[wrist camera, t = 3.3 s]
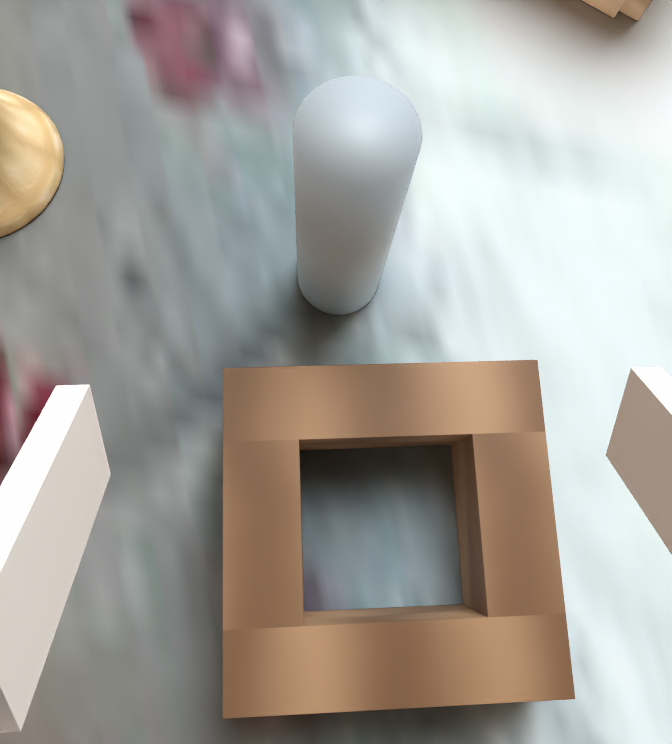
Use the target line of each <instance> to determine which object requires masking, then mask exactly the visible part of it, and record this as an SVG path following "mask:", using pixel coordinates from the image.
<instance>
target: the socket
mask: <svg viewBox="0 0 672 744" xmlns="http://www.w3.org/2000/svg"><path fill="white" fill-rule="evenodd" d="M442 445H451V456H452V469H453V482H454V495H455V507H456V520H457V533H458V546H459V559H460V571H461V584H462V597H463V604H456V605H435V606H413V607H392V608H371V609H350V610H328V611H307V612H304V597H303V558H302V519H301V480H300V450H322V449H352V448H382V447H412V446H442ZM566 699H575V694H574V685H573V676H572V667H571V658H570V649H569V640H568V631H567V622H566V613H565V604H564V595H563V586H562V577H561V568H560V559H559V550H558V541H557V532H556V523H555V514H554V505H553V496H552V488H551V479H550V470H549V461H548V452H547V443H546V434H545V425H544V416H543V407H542V398H541V389H540V380H539V371H538V362H537V360H516V361H478V362H440V363H402V364H364V365H326V366H288V367H250V368H223V719H225V718H243V717H261V716H279V715H297V714H315V713H333V712H350V711H368V710H386V709H404V708H422V707H440V706H458V705H476V704H494V703H512V702H530V701H548V700H566Z"/></svg>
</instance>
